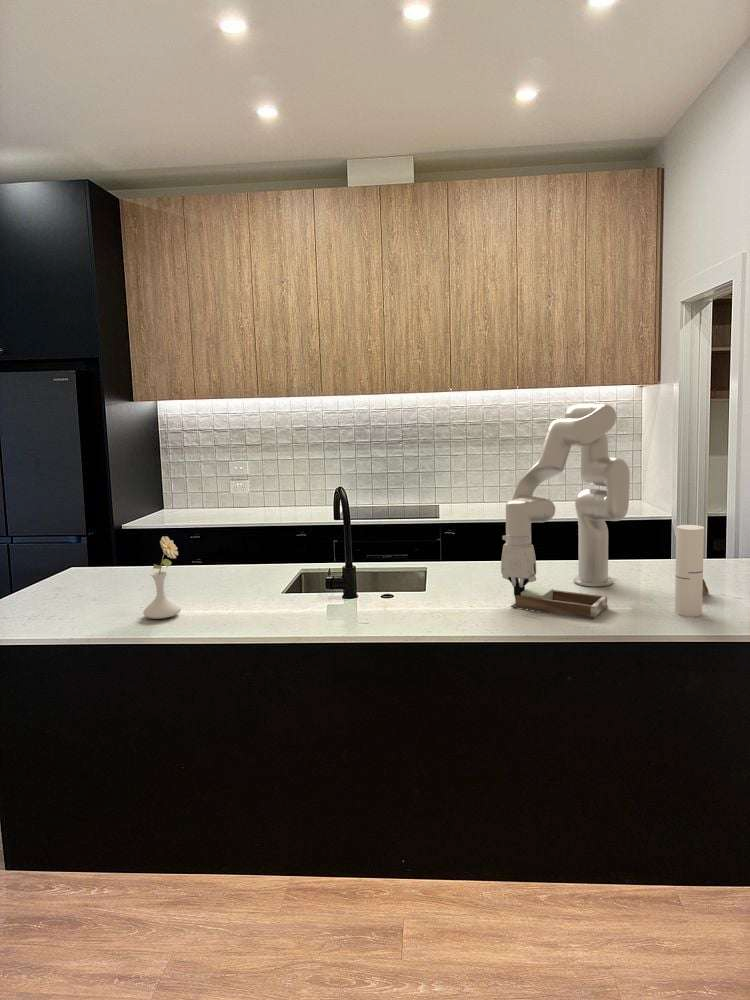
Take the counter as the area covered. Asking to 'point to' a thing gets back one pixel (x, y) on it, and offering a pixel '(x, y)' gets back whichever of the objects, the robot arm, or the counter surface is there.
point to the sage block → (538, 592)
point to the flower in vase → (161, 603)
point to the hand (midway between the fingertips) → (519, 598)
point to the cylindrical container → (689, 570)
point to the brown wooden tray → (565, 604)
